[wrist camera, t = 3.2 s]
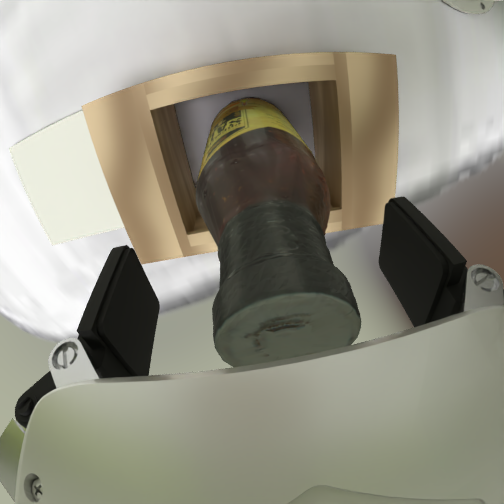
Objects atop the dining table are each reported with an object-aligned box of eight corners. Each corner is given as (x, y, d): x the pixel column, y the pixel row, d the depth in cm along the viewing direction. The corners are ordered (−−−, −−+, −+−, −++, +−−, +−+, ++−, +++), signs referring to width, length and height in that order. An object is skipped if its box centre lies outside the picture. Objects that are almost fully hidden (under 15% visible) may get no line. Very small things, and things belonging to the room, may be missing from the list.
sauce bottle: (223, 87, 20) (198, 180, 4) (296, 109, 22) (455, 260, 6) (201, 159, 24) (158, 379, 8) (270, 177, 25) (333, 394, 10)
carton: (353, 53, 19) (395, 54, 13) (359, 184, 26) (392, 222, 21) (119, 92, 19) (81, 106, 14) (158, 218, 27) (141, 264, 21)
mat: (107, 100, 20) (103, 101, 19) (146, 217, 27) (143, 223, 26) (14, 145, 20) (8, 148, 19) (55, 240, 27) (52, 245, 27)
